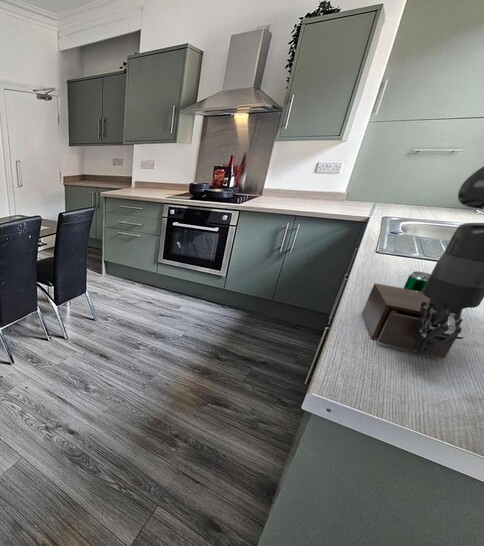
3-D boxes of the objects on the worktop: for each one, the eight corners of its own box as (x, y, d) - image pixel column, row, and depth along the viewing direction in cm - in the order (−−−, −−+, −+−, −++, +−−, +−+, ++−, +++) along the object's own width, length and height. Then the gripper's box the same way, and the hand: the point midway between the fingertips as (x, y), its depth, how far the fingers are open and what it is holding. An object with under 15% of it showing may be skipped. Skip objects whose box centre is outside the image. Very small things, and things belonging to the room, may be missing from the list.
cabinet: (441, 356, 70) (462, 320, 66) (371, 339, 76) (386, 304, 72) (421, 327, 81) (438, 294, 77) (361, 313, 87) (374, 283, 83)
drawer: (446, 362, 67) (464, 331, 64) (379, 345, 72) (392, 316, 69) (424, 330, 78) (439, 303, 75) (367, 317, 84) (379, 292, 80)
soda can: (391, 307, 91) (408, 269, 86) (415, 312, 88) (434, 273, 84) (395, 314, 87) (413, 275, 82) (420, 319, 85) (441, 279, 80)
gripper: (508, 295, 53) (458, 376, 60) (473, 271, 63) (434, 342, 70) (445, 285, 57) (405, 362, 63) (422, 264, 67) (389, 331, 73)
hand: (420, 351), depth 67 cm, fingers closed
